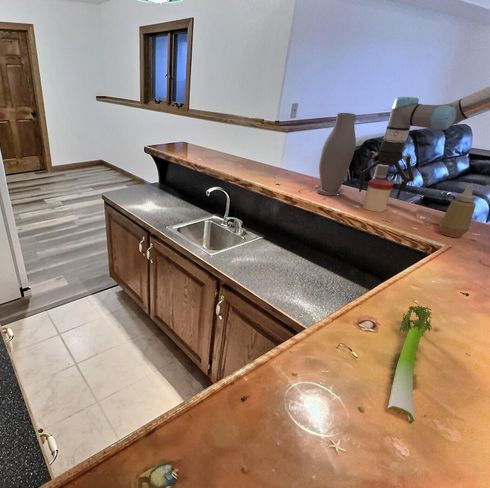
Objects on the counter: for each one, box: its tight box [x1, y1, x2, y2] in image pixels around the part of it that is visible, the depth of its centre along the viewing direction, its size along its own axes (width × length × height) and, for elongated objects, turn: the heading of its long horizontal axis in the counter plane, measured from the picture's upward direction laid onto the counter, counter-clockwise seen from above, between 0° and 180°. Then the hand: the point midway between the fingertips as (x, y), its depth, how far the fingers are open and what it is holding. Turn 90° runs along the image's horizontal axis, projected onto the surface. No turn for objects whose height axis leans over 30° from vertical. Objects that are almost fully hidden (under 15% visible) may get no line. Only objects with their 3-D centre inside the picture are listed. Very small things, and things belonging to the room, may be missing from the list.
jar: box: [362, 184, 393, 213], centre depth 143 cm, size 8×8×10 cm
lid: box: [368, 178, 395, 190], centre depth 141 cm, size 8×8×2 cm
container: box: [372, 163, 390, 180], centre depth 153 cm, size 5×5×15 cm
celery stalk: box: [387, 305, 433, 424], centre depth 67 cm, size 6×7×30 cm
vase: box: [316, 112, 357, 196], centre depth 155 cm, size 13×13×35 cm
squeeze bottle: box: [439, 183, 477, 239], centre depth 118 cm, size 8×8×18 cm
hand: (378, 194), depth 143 cm, fingers open, 13 cm apart
